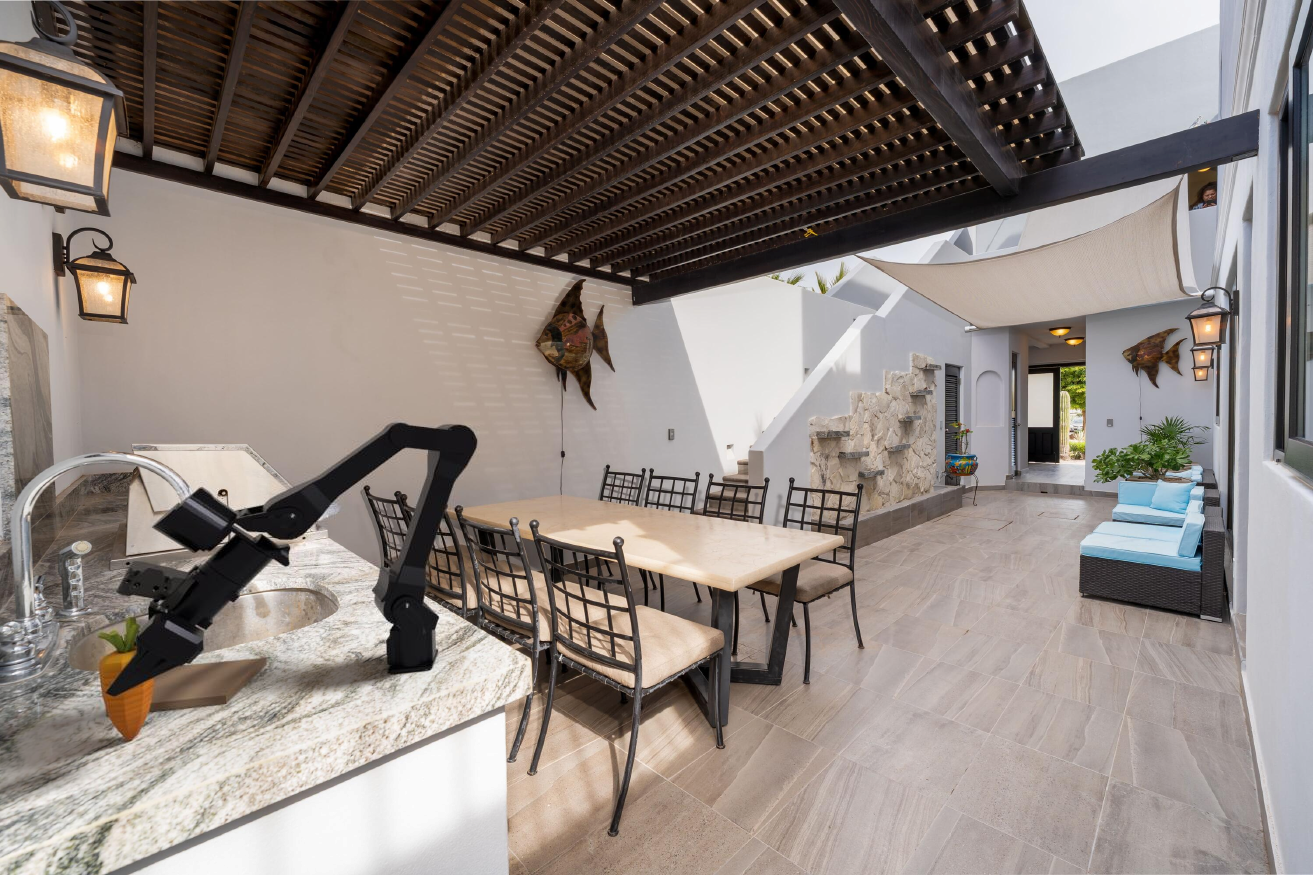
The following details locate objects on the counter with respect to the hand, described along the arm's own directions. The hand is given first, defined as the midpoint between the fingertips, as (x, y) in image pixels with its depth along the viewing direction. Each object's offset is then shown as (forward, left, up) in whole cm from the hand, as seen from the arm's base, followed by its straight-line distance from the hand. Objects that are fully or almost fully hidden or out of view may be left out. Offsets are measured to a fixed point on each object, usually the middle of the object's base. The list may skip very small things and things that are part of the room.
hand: (116, 679), depth 68 cm
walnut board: (-1, -13, -8) cm, 16 cm away
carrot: (-1, 0, -8) cm, 8 cm away
